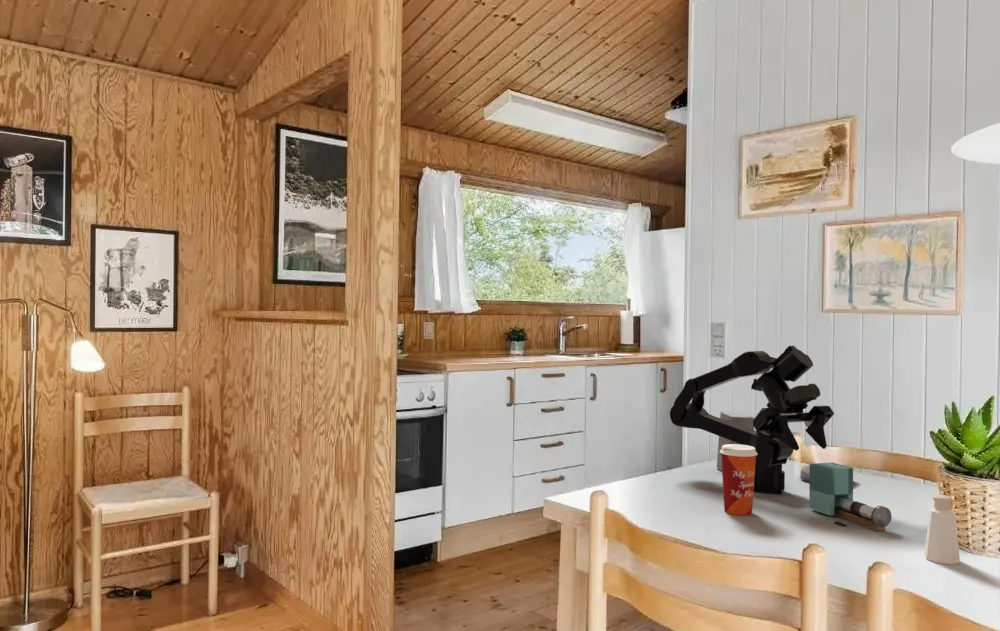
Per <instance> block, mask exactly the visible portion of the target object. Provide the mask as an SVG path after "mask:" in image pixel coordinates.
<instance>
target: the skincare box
mask: <svg viewBox="0 0 1000 631" xmlns="http://www.w3.org/2000/svg"><path fill="white" fill-rule="evenodd" d="M719 414H720V416H719V418H721V419H724V420H726V421H729V422H732V423H735V424H737V425H740V426H743V427H746V428H749V429H751V430H754V431H755V427H754V426H753V420H754V418H755V417H754V416H751V415H750V414H746V413H744V412H735V411H720V413H719ZM717 443H718V444H717V455H716V456H717V460H716V469H717V470H719V471H721V472H722V456H721V453H720V450H721V449H722V446H723V445H727V444H739V443H736V442H733V441H731V440H728V439H726V438H723V437H720V436H718V442H717ZM740 445H741V444H740Z"/></svg>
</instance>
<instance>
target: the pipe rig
mask: <svg viewBox="0 0 1000 631" xmlns="http://www.w3.org/2000/svg"><path fill="white" fill-rule="evenodd" d="M833 516H835V517H837V518H840V519H843V520H846V521H849V522H851V523H853V524H857V525H859V526H862V527H864V528H868V529H869V530H873V531H876V532H883V531H886V528H887V526H889V525H890V523H891V521H892V511H891V509H890V508H888V507H886V506H883V505H877V506H875V507H874V506H869V505H868V504H865V503H863V502H859V501H857V500H856V501H855V500H853V501H852V500H849V499H846V498H843V497H840V496H837V495H834V515H833ZM833 524H835V525H837V526H840V527H842V528H843V527H848V524H845V523H843V522H841V521H834V522H833Z"/></svg>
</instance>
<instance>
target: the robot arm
mask: <svg viewBox="0 0 1000 631" xmlns="http://www.w3.org/2000/svg"><path fill="white" fill-rule="evenodd" d="M813 366H814V362H813V360H812V358H810V356H809V355H808V354H805V353H804V352H803V351H802V350H800V349H798V348H797V347H796V346H795V345H788V346H787V347H786V349H784V351H783V352H782V353H781V354H779V356H778V357H772V356H770V355H769V354H768V352H766V351H764V350H751V351H746V352H743V353H742V354H739V355H738V356H737V357H735V358H734V359H733V360H732V361H731V362H730V363H728V364H727V365H724V366H721V367H718V368H717V369H714V370H712V371H708V372H706V373H704V374H701V375H698V376H696V377H693V378H689V379H687V380H686V381H685V382H684V386H683V388H682V390H681V391H680V393H679V394H678V396H677V397H676V398H675V400H674V402H673V405H672V406H671V407H670V410H669V417H670V418H669V419H670V421H671V424H673V425H674V426H676V427H681V428H686V429H687V428H688V429H699V430H702V431H705V432H708V433H710V434H713V435H715V436H718V437H719V436H720V437H723V438H726V439H728V440H731V441H733V442H736V443H739V444H741V445H748V446H752V447H754V448H755V449H756V452H757V455H756V462H755V477H754V492H759V493H768V494H776V495H777V494H779V495H783V491H784V490H785V487H786V486H785V485H786V484H785V482H786V480H785V479H786V476H785V474H786V472H785V470H783V465H786V464H787V462H788V459H789V457H791V456H792V454H793V453H794V451H796V452H797V451H799V450H800V446H799V444H798V441H797V440H796V437H795V436H794V434H793V433H792V430H791V429H790V426H789V423H790V424H791V423H804V424H805V426H806V427H807V428H806V429H805V430H804V431H805V432H806V433H807V434H808V436H810V437H811V438H812V439H813V441H814V442H815V443H816V444H817V445H818V446H819V447H820V448H821V449H823V450H825V449H827V446H828V445H827V440H826V435H825V425H826V424H827V423H828V422H829V421H830V419H831V418H832V417H833V416H834V415H835V413H834V411H833V409H832V408H831V406H829V405H813V406H812V408H810V410H809V411H808V412H804V410H806V409H807V407H809V405H808V403H810V402H812V401H815V400H818V397H820V396H821V391H820V388H819V387H818V386H817V384H816V383H808V384H807V385H797V386H793V387H791V388H790V386H789V385H788V383H787V382H793V383H795V382H796V381H798V380H799V379H800V378H801V377H802V376H803V375H805V374H806V373H807V372H808V371H809V370H810V369H811V368H812V367H813ZM758 375H760V377H758V378H754V379H753V381H752V384H751V387H750V389H751V390H754V391H758V392H763V395H764V396H765V397H766V398H765V399H767V401H768V402H767V403H766V407H762V408H761V409H760V410H759V411H758V413H757V414H756V416H755V417H754V420H753V426H754V430H751V429H749V428H746V427H743V426H740V425H737V424H735V423H732V422H729V421H726V420H724V419H721V418H720V417H717V416H716V415H713V414H710V413H709V412H708V411H707V410H706V409H705V408H704V405H705V393H706V392H707V391H708V390H711V389H713V388H716V387H719V386H721V385H724V384H727V383H728V382H729V383H730V382H732V381H735V380H737V379H740V378H745V377H747V378H748V377H752V376H753V377H754V376H758Z"/></svg>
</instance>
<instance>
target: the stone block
mask: <svg viewBox="0 0 1000 631" xmlns="http://www.w3.org/2000/svg"><path fill="white" fill-rule="evenodd" d="M810 464H814V462H812V463H807V464H806V465H803V466H802V467H801V470H800V474H799V475H800V480H801V481H804V482H808V483H810Z"/></svg>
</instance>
